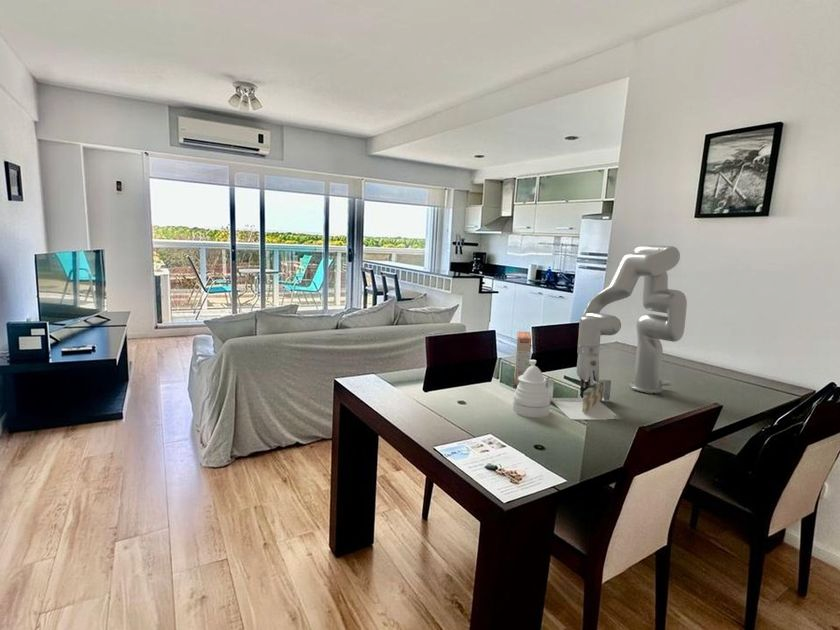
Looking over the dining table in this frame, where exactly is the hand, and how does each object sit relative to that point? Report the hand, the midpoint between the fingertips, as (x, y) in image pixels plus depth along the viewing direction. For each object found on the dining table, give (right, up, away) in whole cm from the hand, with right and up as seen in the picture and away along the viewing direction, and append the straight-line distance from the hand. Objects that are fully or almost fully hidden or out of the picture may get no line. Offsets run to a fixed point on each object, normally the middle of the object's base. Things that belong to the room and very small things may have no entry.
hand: (585, 397), depth 170 cm
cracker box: (-18, +2, +27) cm, 32 cm away
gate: (+2, -2, -2) cm, 4 cm away
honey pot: (-22, -4, -7) cm, 23 cm away
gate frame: (-2, -2, +4) cm, 5 cm away
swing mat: (-2, -4, -6) cm, 8 cm away
